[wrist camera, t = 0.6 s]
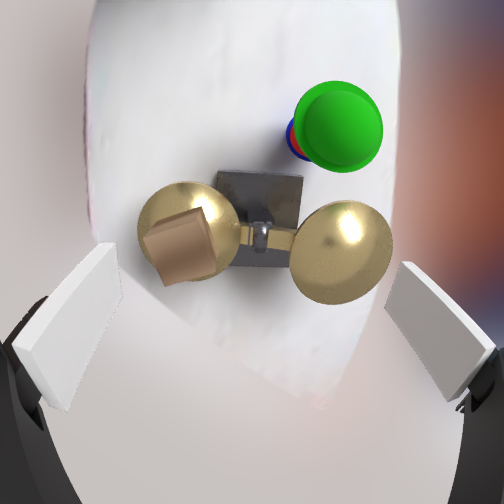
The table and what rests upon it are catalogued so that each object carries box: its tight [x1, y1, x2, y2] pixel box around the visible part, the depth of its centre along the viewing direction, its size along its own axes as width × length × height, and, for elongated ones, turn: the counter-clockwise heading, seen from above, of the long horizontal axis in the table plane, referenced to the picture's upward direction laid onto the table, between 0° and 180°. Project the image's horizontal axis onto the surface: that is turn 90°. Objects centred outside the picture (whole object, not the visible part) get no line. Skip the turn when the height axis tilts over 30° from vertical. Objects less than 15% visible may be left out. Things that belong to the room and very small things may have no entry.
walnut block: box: [143, 206, 218, 286], centre depth 25 cm, size 5×5×5 cm
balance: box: [138, 170, 393, 305], centre depth 29 cm, size 12×26×11 cm, turn 86°
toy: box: [286, 81, 383, 173], centre depth 23 cm, size 8×8×15 cm
